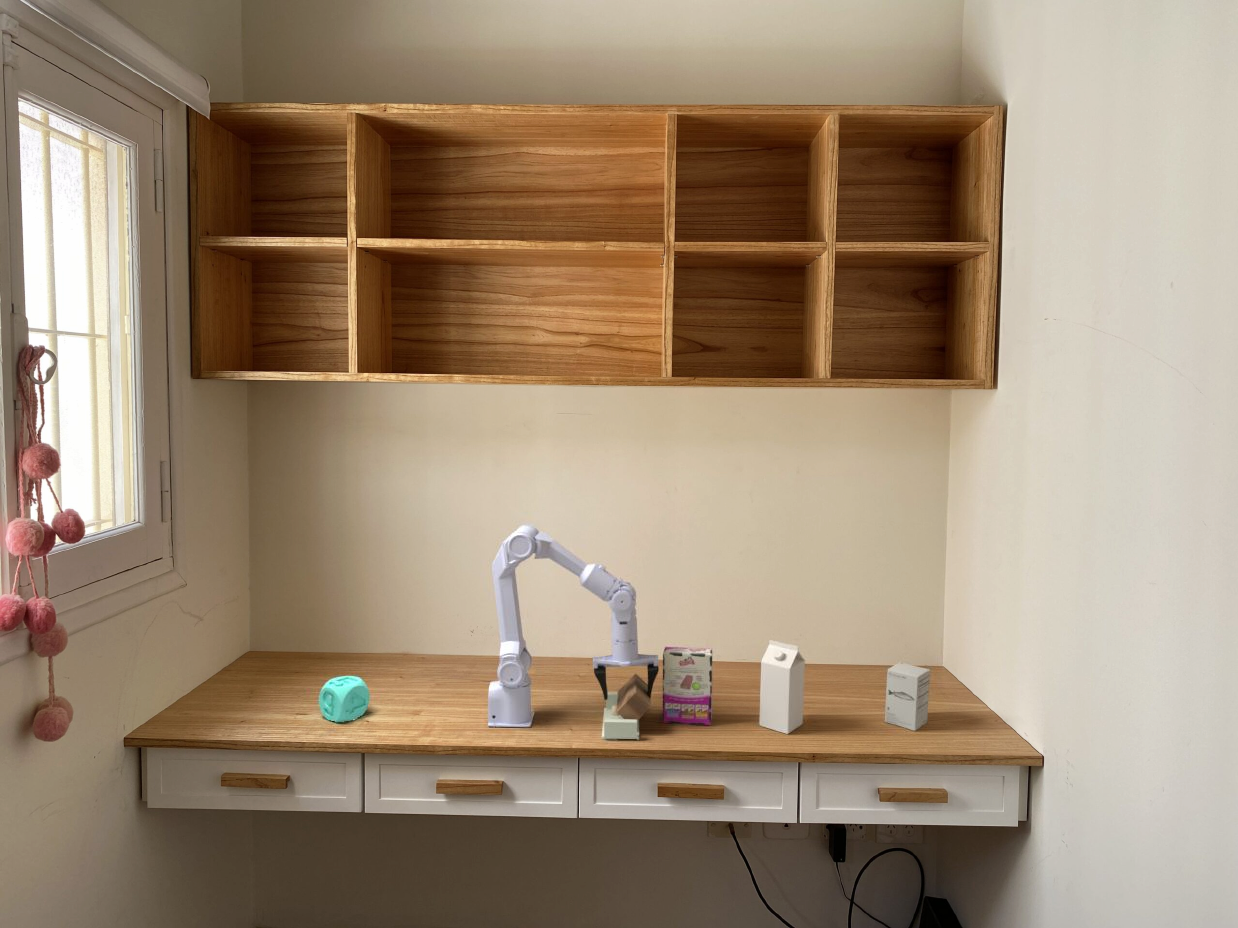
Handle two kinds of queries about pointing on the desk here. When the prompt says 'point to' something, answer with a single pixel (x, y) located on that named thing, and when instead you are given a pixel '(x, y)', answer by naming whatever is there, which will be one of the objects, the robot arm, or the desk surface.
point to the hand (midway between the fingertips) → (627, 697)
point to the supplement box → (907, 696)
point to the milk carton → (782, 687)
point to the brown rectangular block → (633, 699)
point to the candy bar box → (687, 685)
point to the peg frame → (617, 722)
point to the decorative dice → (344, 698)
